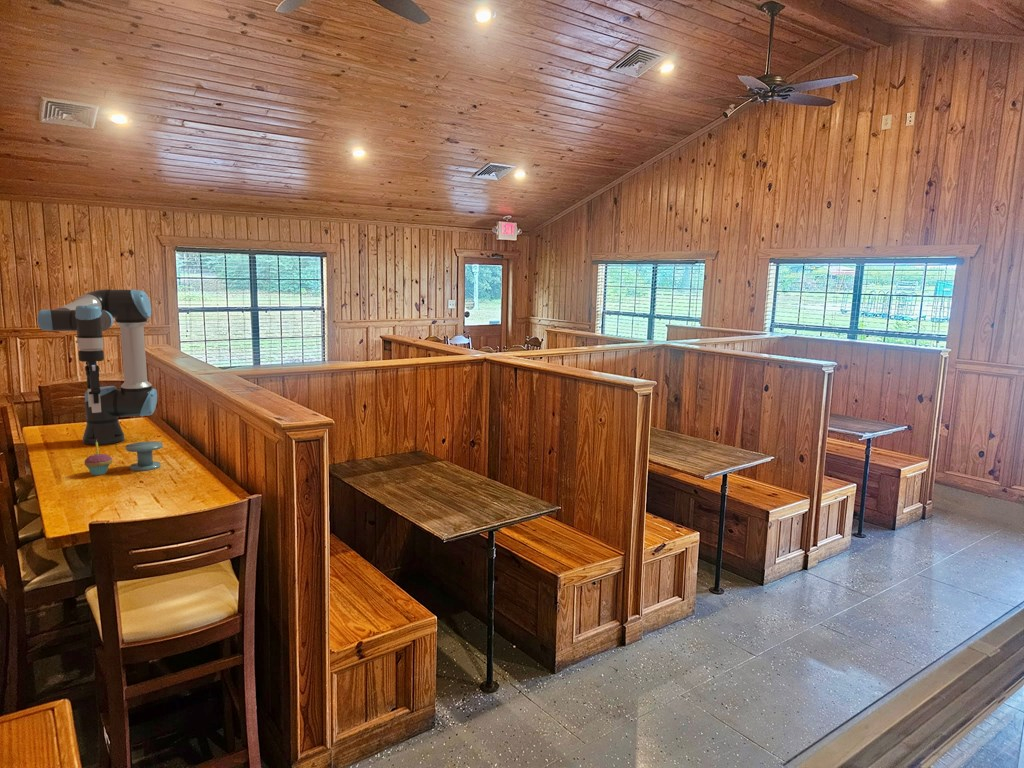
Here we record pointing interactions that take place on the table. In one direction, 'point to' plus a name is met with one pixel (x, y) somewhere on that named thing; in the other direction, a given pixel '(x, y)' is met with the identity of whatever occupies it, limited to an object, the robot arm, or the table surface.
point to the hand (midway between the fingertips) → (94, 409)
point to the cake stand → (144, 455)
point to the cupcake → (98, 462)
